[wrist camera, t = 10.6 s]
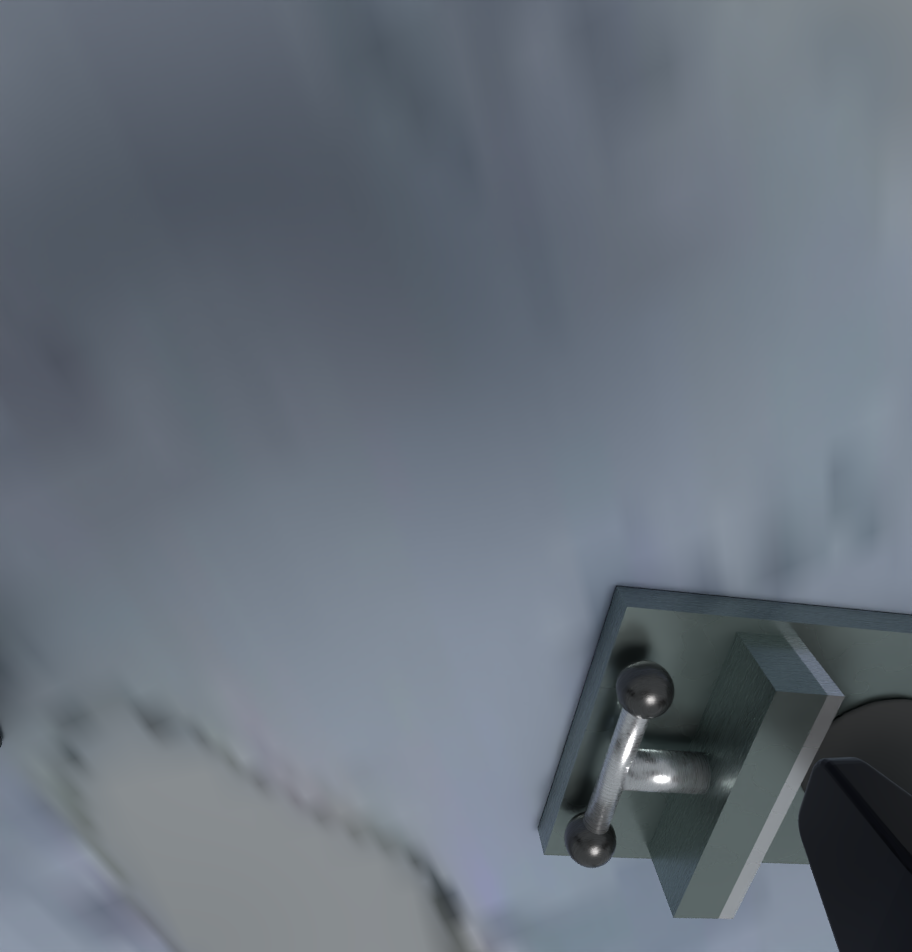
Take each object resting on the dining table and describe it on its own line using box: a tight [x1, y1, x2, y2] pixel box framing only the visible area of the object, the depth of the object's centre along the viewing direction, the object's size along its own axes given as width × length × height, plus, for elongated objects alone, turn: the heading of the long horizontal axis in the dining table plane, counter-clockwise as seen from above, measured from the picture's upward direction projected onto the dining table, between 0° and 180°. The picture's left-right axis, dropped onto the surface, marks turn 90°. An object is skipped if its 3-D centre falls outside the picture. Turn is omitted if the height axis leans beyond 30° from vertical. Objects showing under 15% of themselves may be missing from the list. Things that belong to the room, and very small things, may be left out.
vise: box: [538, 586, 912, 919], centre depth 25 cm, size 16×10×4 cm, turn 79°
